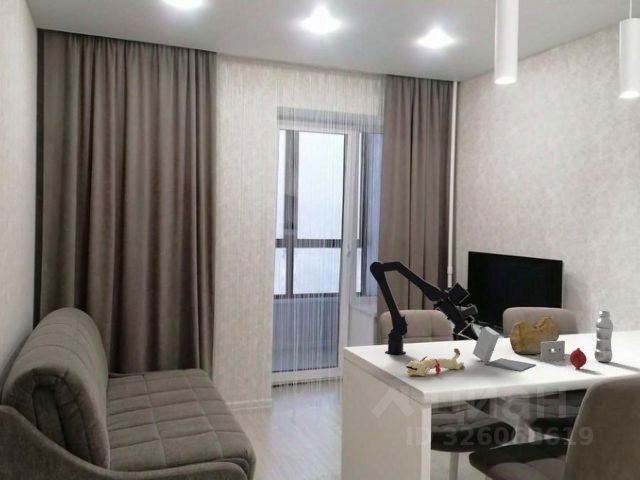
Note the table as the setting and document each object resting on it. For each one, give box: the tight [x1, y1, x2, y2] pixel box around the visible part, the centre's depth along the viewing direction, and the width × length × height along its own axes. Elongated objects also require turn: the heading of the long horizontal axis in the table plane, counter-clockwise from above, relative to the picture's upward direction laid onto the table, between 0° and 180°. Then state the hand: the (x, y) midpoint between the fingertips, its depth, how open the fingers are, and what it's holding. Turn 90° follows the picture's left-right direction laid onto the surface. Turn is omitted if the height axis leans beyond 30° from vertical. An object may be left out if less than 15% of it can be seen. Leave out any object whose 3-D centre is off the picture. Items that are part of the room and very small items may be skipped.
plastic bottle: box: [593, 310, 614, 363], centre depth 225 cm, size 6×7×20 cm
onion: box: [569, 347, 587, 370], centre depth 212 cm, size 6×6×8 cm
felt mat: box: [484, 357, 537, 372], centre depth 216 cm, size 14×14×1 cm
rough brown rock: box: [509, 316, 560, 355], centre depth 243 cm, size 23×17×15 cm
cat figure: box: [405, 348, 465, 377], centre depth 202 cm, size 10×9×25 cm
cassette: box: [540, 339, 566, 363], centre depth 225 cm, size 12×2×8 cm, turn 113°
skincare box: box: [472, 326, 501, 363], centre depth 221 cm, size 6×4×12 cm
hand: (479, 340), depth 223 cm, fingers closed
